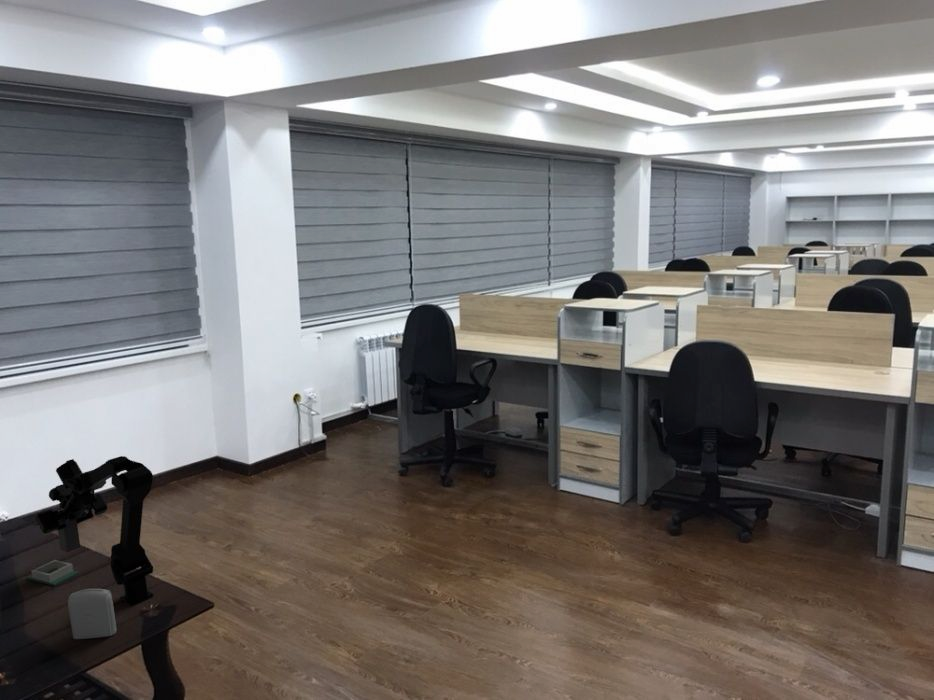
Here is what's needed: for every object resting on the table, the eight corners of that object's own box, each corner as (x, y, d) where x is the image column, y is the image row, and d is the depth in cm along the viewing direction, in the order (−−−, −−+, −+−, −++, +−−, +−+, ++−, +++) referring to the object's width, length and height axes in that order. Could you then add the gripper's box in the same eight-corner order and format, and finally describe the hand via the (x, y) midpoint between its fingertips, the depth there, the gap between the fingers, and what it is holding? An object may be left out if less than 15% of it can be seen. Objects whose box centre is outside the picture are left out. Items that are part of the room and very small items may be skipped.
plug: (80, 547, 225) (75, 510, 223) (67, 552, 222) (61, 514, 219) (73, 544, 227) (68, 507, 225) (59, 549, 224) (54, 511, 222)
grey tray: (79, 573, 221) (78, 564, 220) (54, 586, 214) (53, 577, 213) (51, 566, 226) (50, 558, 225) (27, 578, 218) (25, 569, 218)
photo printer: (70, 641, 185) (63, 595, 183) (77, 631, 190) (71, 587, 187) (113, 637, 186) (107, 592, 184) (119, 628, 191) (113, 584, 188)
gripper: (97, 468, 225) (83, 495, 234) (33, 487, 210) (20, 516, 219) (114, 497, 222) (100, 524, 231) (51, 519, 207) (37, 547, 216)
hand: (65, 526), depth 224 cm, fingers closed on plug, 4 cm apart
